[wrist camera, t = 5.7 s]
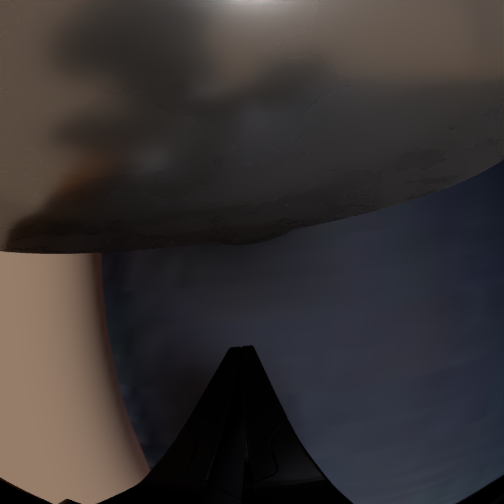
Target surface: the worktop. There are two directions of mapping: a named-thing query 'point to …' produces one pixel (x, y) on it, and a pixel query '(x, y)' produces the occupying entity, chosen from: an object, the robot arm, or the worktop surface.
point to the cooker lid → (236, 115)
